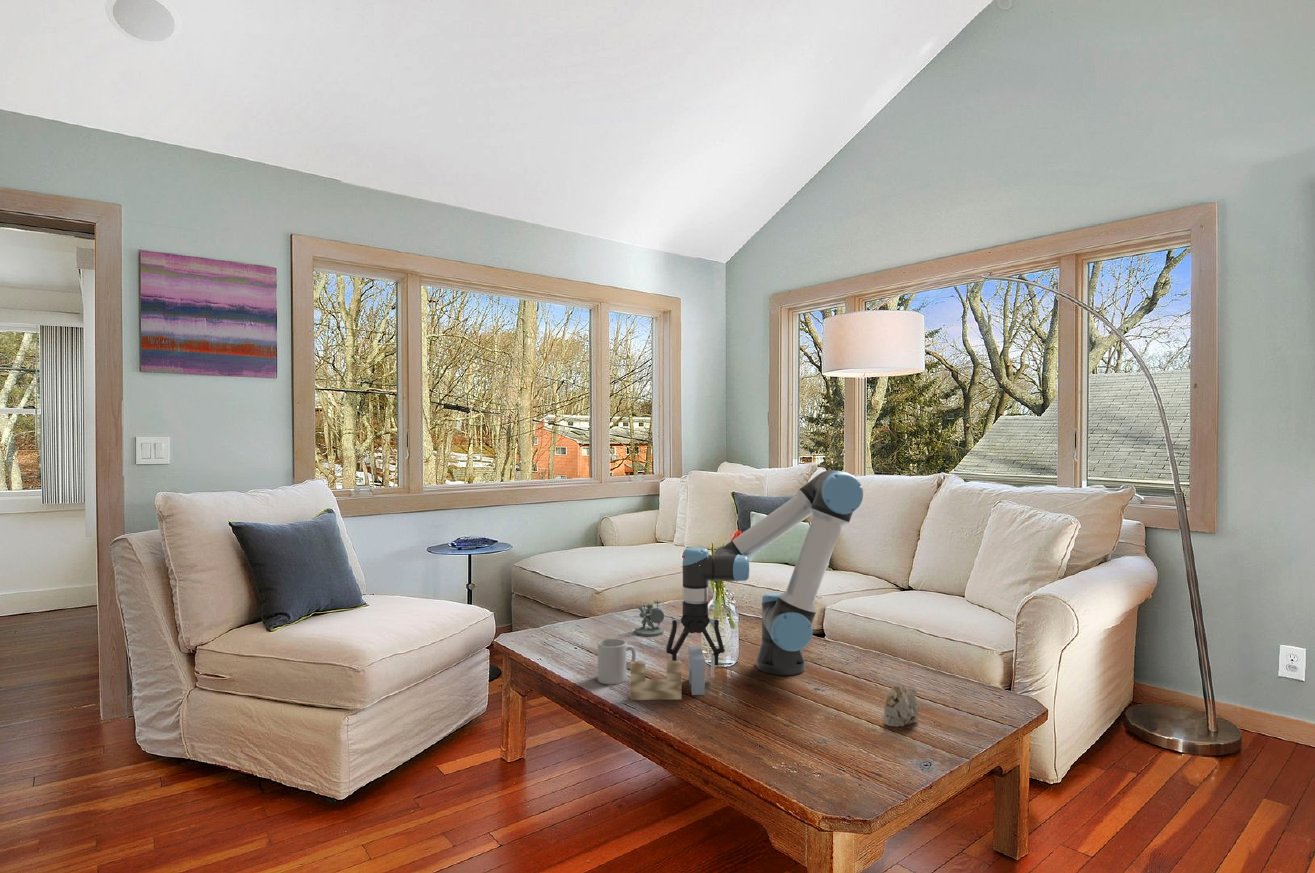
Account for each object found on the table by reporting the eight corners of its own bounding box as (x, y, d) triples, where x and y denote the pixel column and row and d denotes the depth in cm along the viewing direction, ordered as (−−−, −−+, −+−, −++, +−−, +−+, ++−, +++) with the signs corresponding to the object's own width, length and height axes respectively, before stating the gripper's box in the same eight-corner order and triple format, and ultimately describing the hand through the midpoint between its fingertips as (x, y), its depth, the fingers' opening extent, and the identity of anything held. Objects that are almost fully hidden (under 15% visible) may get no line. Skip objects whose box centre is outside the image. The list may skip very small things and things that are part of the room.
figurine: (633, 628, 259) (633, 597, 259) (662, 628, 260) (662, 596, 260) (636, 637, 248) (636, 603, 248) (665, 636, 249) (665, 603, 249)
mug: (604, 686, 199) (604, 648, 199) (593, 677, 207) (593, 640, 207) (641, 679, 205) (641, 642, 205) (628, 670, 212) (628, 635, 212)
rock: (905, 728, 168) (906, 685, 171) (880, 724, 172) (881, 682, 176) (927, 730, 176) (927, 689, 179) (903, 726, 180) (903, 686, 183)
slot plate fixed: (681, 696, 191) (681, 660, 191) (681, 699, 189) (681, 662, 189) (630, 697, 191) (630, 661, 191) (630, 699, 189) (630, 663, 189)
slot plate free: (688, 679, 205) (688, 646, 205) (700, 679, 205) (700, 646, 205) (692, 694, 193) (692, 659, 193) (704, 694, 193) (704, 659, 193)
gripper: (731, 597, 207) (731, 671, 207) (656, 597, 206) (656, 672, 206) (735, 603, 199) (734, 680, 199) (657, 604, 198) (657, 681, 198)
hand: (695, 676), depth 203 cm, fingers open, 10 cm apart
